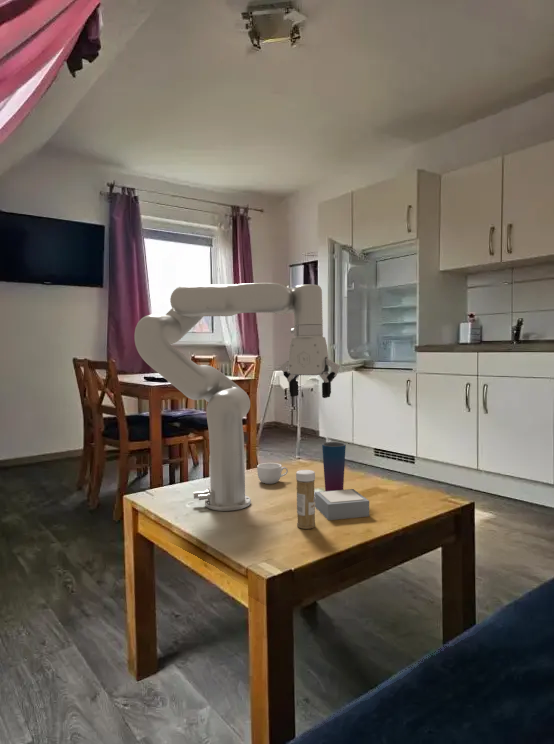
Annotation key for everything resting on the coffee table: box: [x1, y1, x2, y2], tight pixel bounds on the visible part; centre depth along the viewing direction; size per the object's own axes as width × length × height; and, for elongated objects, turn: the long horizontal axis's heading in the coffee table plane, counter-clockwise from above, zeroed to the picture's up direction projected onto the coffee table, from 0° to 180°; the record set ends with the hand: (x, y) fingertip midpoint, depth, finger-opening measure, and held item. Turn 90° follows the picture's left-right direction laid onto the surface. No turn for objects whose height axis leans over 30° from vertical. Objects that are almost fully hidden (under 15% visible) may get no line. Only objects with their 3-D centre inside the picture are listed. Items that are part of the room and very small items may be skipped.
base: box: [314, 488, 370, 521], centre depth 135 cm, size 11×11×4 cm
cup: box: [321, 441, 347, 491], centre depth 149 cm, size 7×7×15 cm
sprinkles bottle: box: [295, 469, 316, 530], centre depth 124 cm, size 5×5×13 cm
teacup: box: [256, 462, 289, 485], centre depth 164 cm, size 10×8×5 cm
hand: (310, 396), depth 136 cm, fingers open, 9 cm apart
